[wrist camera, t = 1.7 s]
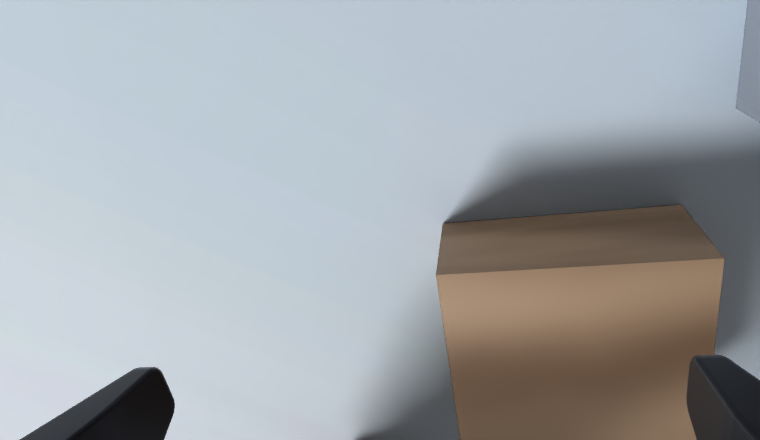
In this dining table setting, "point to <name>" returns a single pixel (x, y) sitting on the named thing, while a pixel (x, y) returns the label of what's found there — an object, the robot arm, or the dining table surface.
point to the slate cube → (750, 64)
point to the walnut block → (577, 323)
